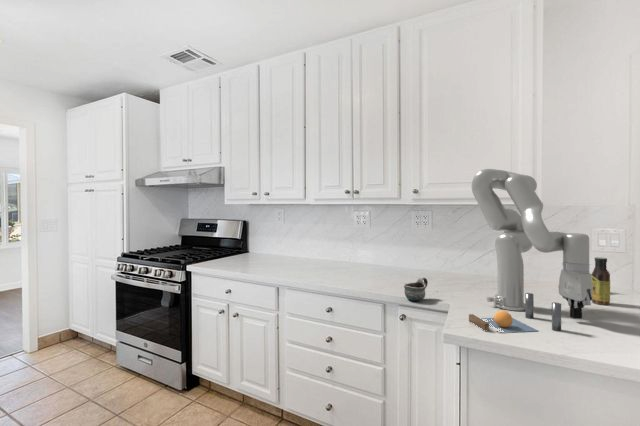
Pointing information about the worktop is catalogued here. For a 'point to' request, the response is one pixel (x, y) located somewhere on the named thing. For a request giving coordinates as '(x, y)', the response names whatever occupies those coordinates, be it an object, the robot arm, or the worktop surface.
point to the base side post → (529, 305)
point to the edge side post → (556, 316)
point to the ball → (503, 319)
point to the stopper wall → (478, 322)
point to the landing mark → (512, 326)
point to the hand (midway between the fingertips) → (575, 317)
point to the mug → (416, 289)
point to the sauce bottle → (601, 282)
